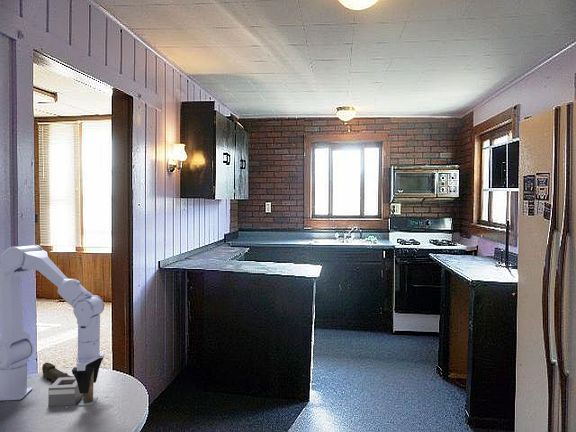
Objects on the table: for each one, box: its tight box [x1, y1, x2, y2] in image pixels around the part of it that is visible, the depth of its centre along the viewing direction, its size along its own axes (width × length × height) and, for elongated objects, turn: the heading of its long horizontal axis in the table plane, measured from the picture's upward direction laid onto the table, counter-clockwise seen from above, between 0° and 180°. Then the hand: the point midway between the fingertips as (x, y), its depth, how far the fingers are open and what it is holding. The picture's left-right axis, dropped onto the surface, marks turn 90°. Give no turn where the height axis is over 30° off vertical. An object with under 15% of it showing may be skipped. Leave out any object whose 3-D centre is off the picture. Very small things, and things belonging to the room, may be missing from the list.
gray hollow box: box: [47, 376, 83, 407], centre depth 126 cm, size 7×8×5 cm
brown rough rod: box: [41, 362, 75, 383], centre depth 140 cm, size 19×4×5 cm, turn 49°
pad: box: [77, 396, 99, 407], centre depth 125 cm, size 4×5×1 cm
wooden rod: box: [82, 371, 95, 403], centre depth 125 cm, size 3×3×9 cm
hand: (88, 387), depth 125 cm, fingers open, 7 cm apart
